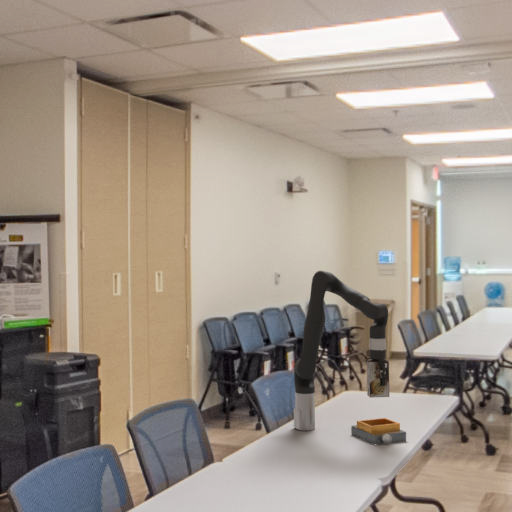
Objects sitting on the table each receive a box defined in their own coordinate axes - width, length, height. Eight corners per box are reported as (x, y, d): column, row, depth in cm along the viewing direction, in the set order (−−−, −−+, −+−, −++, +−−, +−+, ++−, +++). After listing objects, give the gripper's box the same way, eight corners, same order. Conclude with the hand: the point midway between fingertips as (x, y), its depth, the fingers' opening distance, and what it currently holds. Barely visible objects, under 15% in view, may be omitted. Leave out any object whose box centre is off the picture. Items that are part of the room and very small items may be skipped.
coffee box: (386, 394, 336) (386, 359, 336) (389, 397, 329) (389, 361, 329) (366, 394, 335) (366, 359, 335) (369, 397, 329) (369, 361, 329)
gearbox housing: (378, 446, 318) (377, 430, 317) (351, 434, 338) (351, 419, 338) (409, 442, 324) (409, 426, 324) (381, 431, 344) (381, 416, 344)
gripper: (362, 346, 337) (362, 382, 337) (379, 350, 324) (379, 387, 324) (376, 345, 340) (376, 381, 340) (393, 349, 327) (393, 386, 327)
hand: (377, 384), depth 332 cm, fingers closed on coffee box, 7 cm apart
